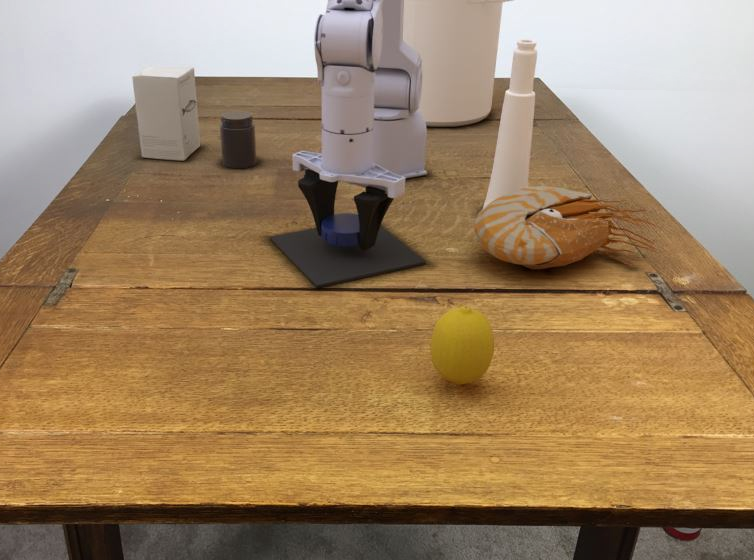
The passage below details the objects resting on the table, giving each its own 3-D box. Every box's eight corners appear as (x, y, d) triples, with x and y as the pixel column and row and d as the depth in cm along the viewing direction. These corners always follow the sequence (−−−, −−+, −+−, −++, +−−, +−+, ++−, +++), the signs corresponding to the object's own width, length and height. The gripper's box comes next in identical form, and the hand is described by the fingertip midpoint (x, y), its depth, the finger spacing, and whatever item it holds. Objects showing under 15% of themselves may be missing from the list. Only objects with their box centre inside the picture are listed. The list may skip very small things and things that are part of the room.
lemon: (422, 368, 73) (428, 292, 69) (480, 365, 74) (490, 290, 69) (433, 403, 68) (440, 325, 64) (495, 400, 69) (506, 322, 65)
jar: (215, 164, 120) (211, 116, 116) (236, 155, 124) (233, 108, 120) (242, 171, 118) (240, 121, 114) (263, 161, 121) (261, 113, 117)
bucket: (522, 109, 147) (542, -39, 134) (473, 140, 131) (490, -25, 118) (402, 89, 158) (409, -49, 145) (343, 115, 142) (345, -37, 129)
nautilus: (645, 245, 98) (662, 309, 85) (472, 220, 100) (465, 279, 88) (664, 186, 93) (684, 244, 81) (482, 162, 96) (476, 215, 84)
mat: (370, 220, 102) (370, 217, 102) (426, 264, 92) (426, 261, 91) (269, 239, 97) (269, 236, 97) (316, 288, 86) (316, 285, 86)
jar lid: (367, 248, 90) (367, 234, 89) (317, 244, 91) (317, 231, 90) (373, 228, 95) (373, 215, 94) (326, 224, 96) (326, 211, 95)
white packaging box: (185, 161, 121) (177, 77, 114) (140, 158, 122) (129, 74, 115) (202, 146, 127) (195, 66, 120) (159, 143, 128) (149, 63, 121)
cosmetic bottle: (512, 228, 100) (536, 49, 89) (472, 215, 104) (490, 41, 92) (536, 214, 104) (562, 41, 92) (497, 202, 108) (518, 34, 96)
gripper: (273, 123, 87) (277, 235, 94) (381, 149, 80) (376, 268, 87) (313, 109, 92) (314, 216, 99) (418, 132, 85) (411, 247, 92)
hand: (345, 240), depth 93 cm, fingers closed on jar lid, 6 cm apart
